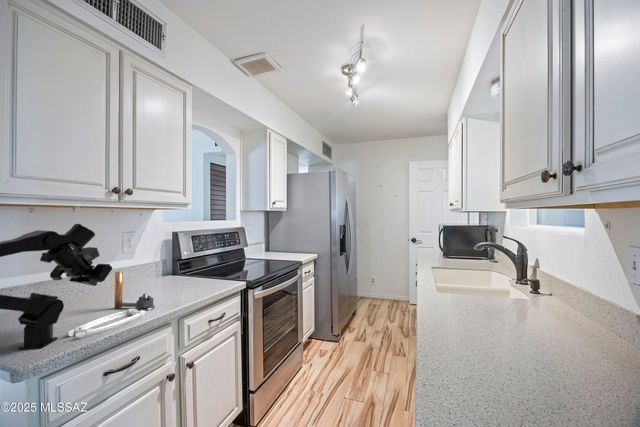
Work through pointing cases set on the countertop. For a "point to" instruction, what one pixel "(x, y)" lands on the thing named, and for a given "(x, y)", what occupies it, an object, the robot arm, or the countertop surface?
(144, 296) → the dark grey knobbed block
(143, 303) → the l-shaped piece
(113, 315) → the door handle
